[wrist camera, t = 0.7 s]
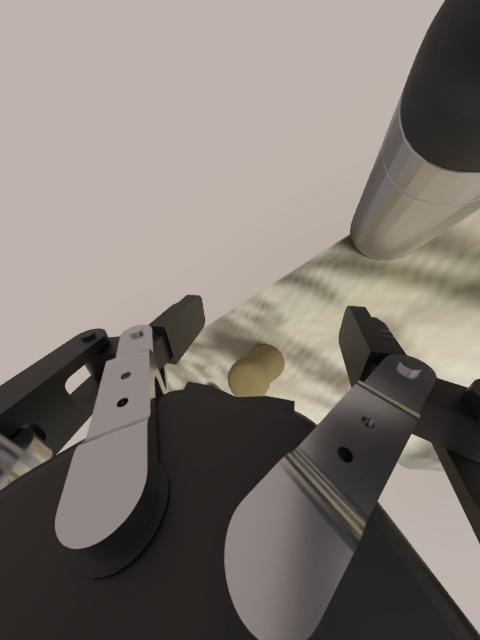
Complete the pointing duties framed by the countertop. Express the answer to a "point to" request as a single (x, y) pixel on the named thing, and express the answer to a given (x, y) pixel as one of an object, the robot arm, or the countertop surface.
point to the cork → (256, 371)
